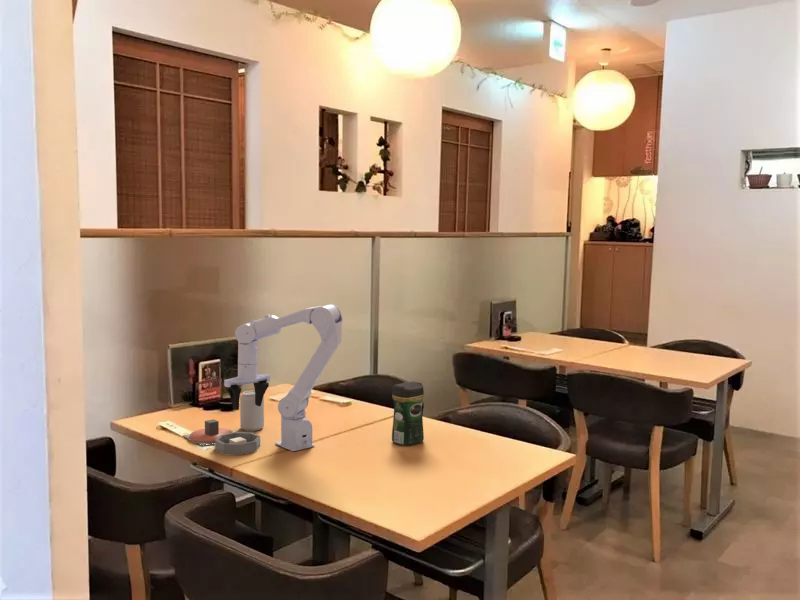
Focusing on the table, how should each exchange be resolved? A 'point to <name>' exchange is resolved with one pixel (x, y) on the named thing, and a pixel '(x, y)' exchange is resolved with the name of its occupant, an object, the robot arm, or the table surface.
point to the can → (251, 412)
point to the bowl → (237, 443)
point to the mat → (196, 442)
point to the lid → (209, 432)
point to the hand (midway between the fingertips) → (247, 407)
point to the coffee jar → (407, 413)
